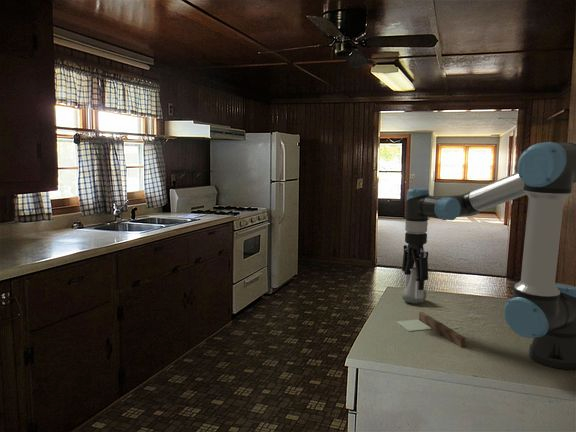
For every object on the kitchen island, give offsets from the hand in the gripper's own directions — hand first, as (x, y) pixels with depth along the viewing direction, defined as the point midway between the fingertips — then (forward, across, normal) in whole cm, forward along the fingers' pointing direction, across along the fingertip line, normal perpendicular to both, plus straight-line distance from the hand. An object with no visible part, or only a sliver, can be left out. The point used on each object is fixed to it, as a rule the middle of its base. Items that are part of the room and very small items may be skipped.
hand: (413, 294), depth 178 cm
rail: (+11, -9, -6) cm, 16 cm away
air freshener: (+12, +26, -15) cm, 32 cm away
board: (+11, 0, 0) cm, 11 cm away
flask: (+1, 0, 0) cm, 1 cm away
